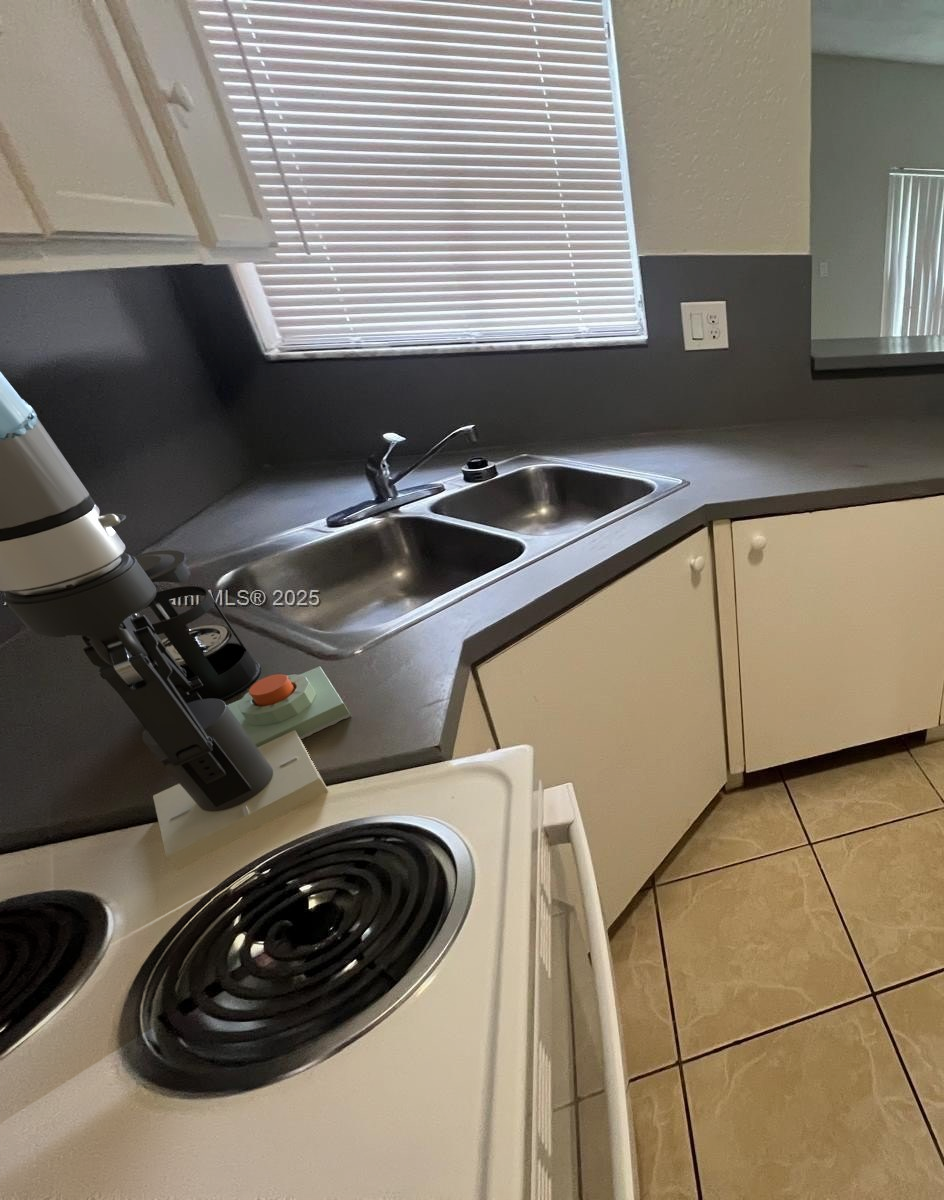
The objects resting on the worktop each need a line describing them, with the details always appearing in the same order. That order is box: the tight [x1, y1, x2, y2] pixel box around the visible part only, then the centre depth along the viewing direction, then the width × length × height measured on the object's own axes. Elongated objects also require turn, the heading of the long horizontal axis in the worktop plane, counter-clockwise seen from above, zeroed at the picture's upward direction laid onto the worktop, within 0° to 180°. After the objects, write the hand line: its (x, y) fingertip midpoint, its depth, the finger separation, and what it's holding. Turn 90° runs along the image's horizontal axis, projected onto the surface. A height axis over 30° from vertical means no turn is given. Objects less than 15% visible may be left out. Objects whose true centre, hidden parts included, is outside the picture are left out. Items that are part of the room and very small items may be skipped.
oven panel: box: [152, 730, 329, 871], centre depth 63 cm, size 10×12×2 cm
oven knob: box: [141, 698, 273, 811], centre depth 60 cm, size 6×6×9 cm
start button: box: [248, 673, 295, 707], centre depth 71 cm, size 4×4×2 cm
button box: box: [226, 665, 351, 747], centre depth 72 cm, size 10×10×4 cm
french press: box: [100, 513, 262, 702], centre depth 72 cm, size 12×9×23 cm
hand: (224, 770), depth 61 cm, fingers open, 8 cm apart
